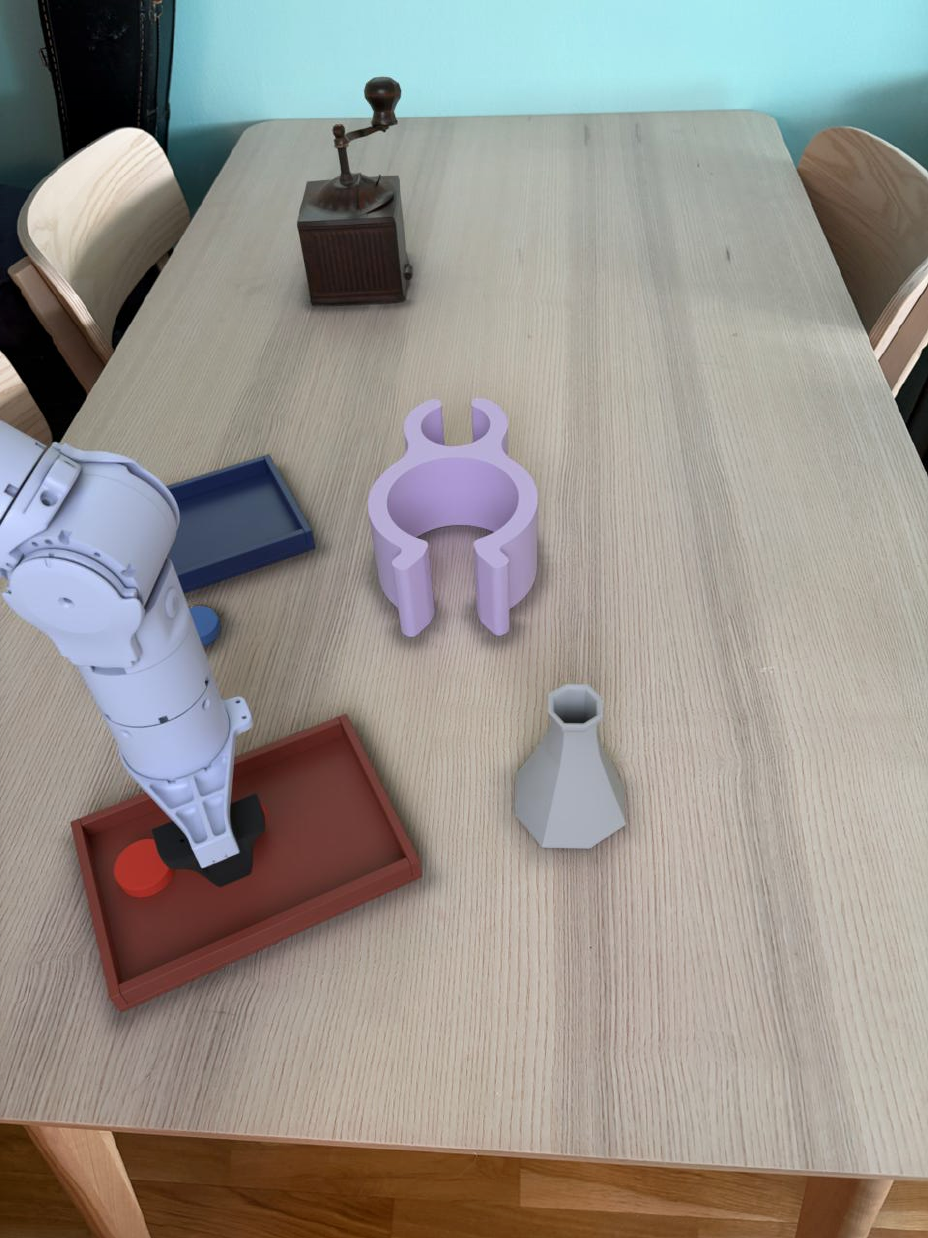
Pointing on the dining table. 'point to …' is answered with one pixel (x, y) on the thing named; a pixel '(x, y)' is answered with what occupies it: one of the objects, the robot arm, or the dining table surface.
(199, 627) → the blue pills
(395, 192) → the manual coffee grinder
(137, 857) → the red disc-ended bar
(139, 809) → the red tray
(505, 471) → the clip
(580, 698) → the flask
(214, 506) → the blue tray
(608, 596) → the dining table surface
